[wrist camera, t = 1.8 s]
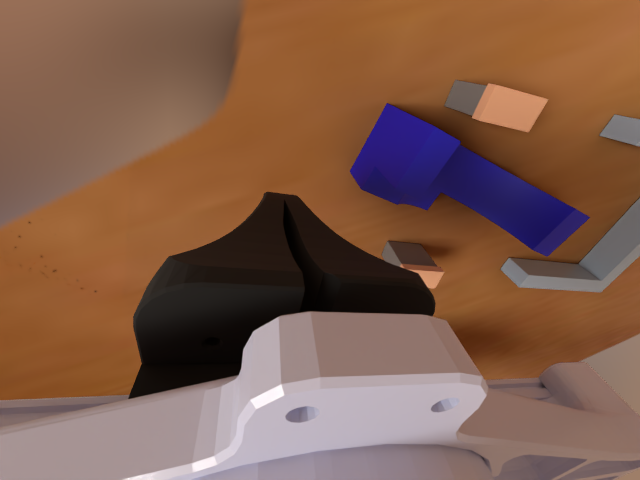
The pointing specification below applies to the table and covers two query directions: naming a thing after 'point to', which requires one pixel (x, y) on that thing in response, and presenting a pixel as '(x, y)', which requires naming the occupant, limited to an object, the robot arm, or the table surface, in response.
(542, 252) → the blue stepped bar
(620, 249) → the grey bent bracket
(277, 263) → the robot arm
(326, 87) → the table surface
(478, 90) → the posts
